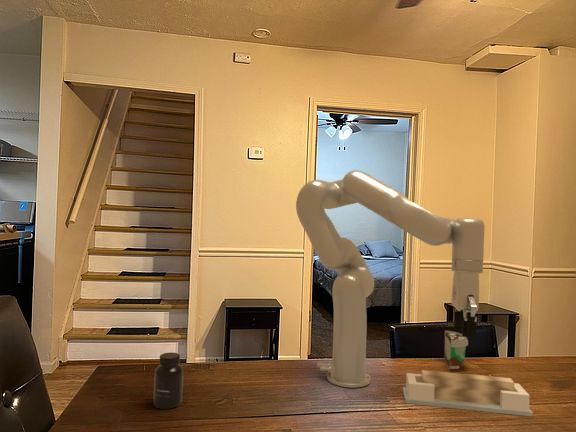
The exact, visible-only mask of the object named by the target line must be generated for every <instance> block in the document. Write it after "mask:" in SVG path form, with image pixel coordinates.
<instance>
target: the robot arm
mask: <svg viewBox="0 0 576 432" xmlns="http://www.w3.org/2000/svg"><path fill="white" fill-rule="evenodd" d="M295 201H296V202H295V209H296V214H297V218H298V219H299V222H300V224H301V226H302V228H303V229H304V232H305V233H306V235H307V237H308V239H309V241H310V243H311V246H312V247H313V249H314V252H315V253H316V255H317V258H318V259H319V261H320V263H321V265H323V267H324V268H325V269H326V270H330V271H337V273H338V276H337V277H336V278H335V280H334V281H333V284H332V288H331V290H332V293H331V295H332V303H333V305H332V306H333V332H332V333H333V337H332V338H333V339H332V340H333V341H332V342H333V343H332V358H331V361H328V362H322V361H317V365H316V369H320V372H327V373H326V378H327V379H326V380H327V381H328V382H329V383H331V384H333V385H335V386H338V387H342V388H349V389H350V388H352V389H355V388H357V389H358V388H363V387H366V386H368V385H369V384H371V375H370V374H369V373H368V372H366V361H367V360H366V359H367V357H366V355H367V331H368V330H367V328H368V327H367V322H368V321H367V319H368V317H367V316H368V315H367V302H366V301H367V300H366V298H368V297H369V296H370V295H372V293H373V292H374V288H375V279H374V276H373V273H372V272H371V270H370V267H368V265H367V263H366V261H365V259H364V258H363V256H362V254H361V252H360V250H359V249H358V247H357V245H356V244H355V243H354V242H353V241H352V240H350V239H349V238H347V237H341V235H340V234H339V232H338V231H337V229H336V227H335V225H334V222H332V220H331V218H330V217H329V216H328V214H327V213H326V211H325V210H332V209H337V208H342V207H346V206H350V205H355V204H359V205H361V206H363V207H364V208H367V209H368V210H370V211H371V212H373V213H375V214H376V215H378V216H380V217H381V218H383V219H384V220H386V221H387V222H389V223H391V224H393V225H395V226H396V227H398V228H400V229H401V230H403V232H406V233H408V234H409V235H411V236H413V237H414V238H416V239H418V240H420V241H421V242H422V243H425V244H426V245H429V246H434V247H435V246H436V247H437V246H442V245H446V244H452V247H451V271H452V272H453V278H452V289H451V290H452V291H451V302H450V303H451V305H452V306H453V308H454V320H453V321H454V324H453V325H454V327H457V328H461V329H462V331H461V334H462V336H463V337H467V338H477V327H478V326H477V323H478V321H477V320H478V317H477V315H478V314H477V312H478V311H479V303H480V274H483V273H484V272H483V271H484V252H485V251H484V250H485V247H484V245H485V222H484V221H483V220H482V219H479V218H457V219H455V218H448V217H443V216H439V215H437V214H435V213H434V212H431V211H430V210H427V209H426V208H424V207H422V206H420V205H418V204H417V203H415V202H413V201H412V200H410V199H409V198H408V197H407V196H406V195H405V194H403V193H402V192H400V191H399V190H398V189H396V188H394V187H392V186H390V185H389V184H386V183H384V182H382V181H381V180H379V179H377V178H375V177H373V176H372V175H370V174H369V173H367V172H364V171H362V170H358V169H354V170H350V171H349V172H348V173H346V174H345V175H344V177H342V179H340V180H339V179H338V180H335V181H330V182H329V181H326V180H323V179H322V180H321V179H314V180H310V181H308V182H306V183H305V184H304V185H303V186H302V187H301V188H300V190H299V191H298V194H297V197H296V200H295Z"/></svg>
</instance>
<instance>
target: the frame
mask: <svg viewBox="0 0 576 432" xmlns="http://www.w3.org/2000/svg"><path fill="white" fill-rule="evenodd" d="M405 374H406V376H405V378H406V379H405V381H406V382H405V386H403V387H402V392H403V393H402V394H403V398H404V403H405V404H409V405H418V406H428V407H429V406H430V407H438V408H447V409H448V408H449V409H455V410H456V409H457V410H466V411H467V410H468V411H477V412H486V413H493V414H494V413H495V414H503V415H514V416H523V417H530V418H531V417H534V412H533V411H532V409H530V400H531V399H530V398H531V396H530V394H529V393H528V392H527V391H526V390H525V388H523V387H522V386H521V384H520V383H518V382H517V383H516V382H514V392H513V391H502V390H500V405H493V404H483V403H474V402H464V401H454V400H445V399H435V398H434V389H435V386H434V384H430V383H421V373H420V374H419V373H410V372H406V373H405Z"/></svg>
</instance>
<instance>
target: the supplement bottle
mask: <svg viewBox="0 0 576 432" xmlns="http://www.w3.org/2000/svg"><path fill="white" fill-rule="evenodd" d="M158 362H159V363H158V364H159V365H157V367H156V368H155V370H154V378H153V379H154V381H153V382H154V383H153V405H154V407H155V408H157V409H159V408H160V409H159V410H171V409H170V408H173V409H175V408H174V407H176V408H177V406H178V407H179V406H180V405H181V404H182V402H183V388H184V385H183V384H184V367H183V366H182V364H180V362H181V355H180V353H177V352H165V353H162V354H160V356H159V361H158Z"/></svg>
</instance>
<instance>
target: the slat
mask: <svg viewBox="0 0 576 432" xmlns="http://www.w3.org/2000/svg"><path fill="white" fill-rule="evenodd" d="M420 374H421V383H430V384H434V386H435V389H434V398H435V399H445V400H454V401H464V402H474V403H483V404H493V405H500V390H502V391H513V392H514V383H515V382H514V380H513V379H512V378H511V377H502V376H501V377H500V376H490V375H479V374H477V375H476V374H469V373H456V372H447V371H435V370H423V369H421V373H420Z"/></svg>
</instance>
